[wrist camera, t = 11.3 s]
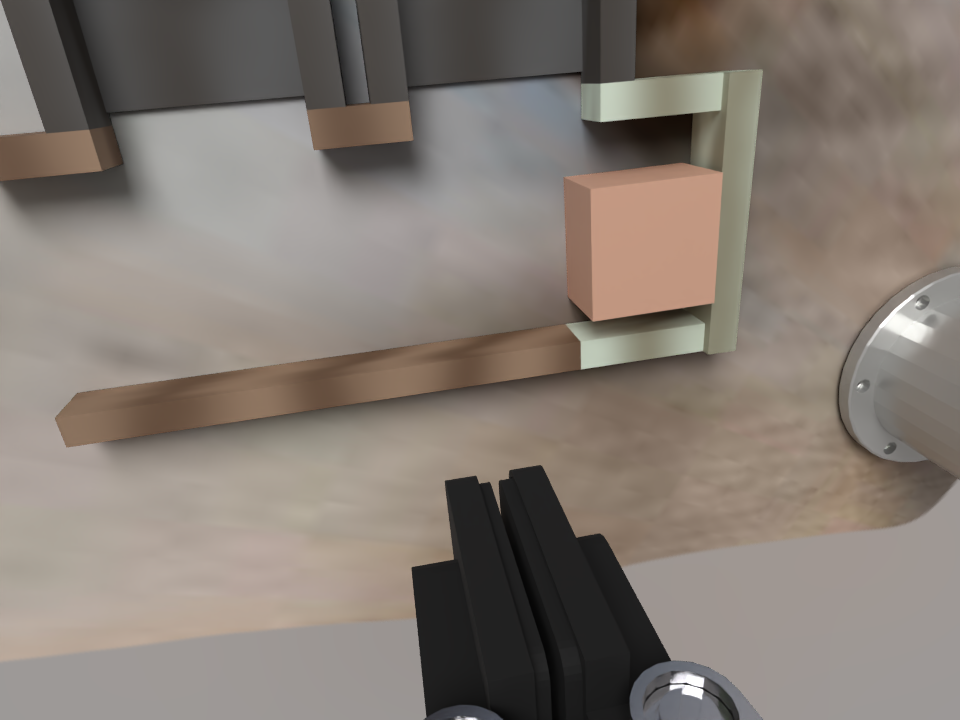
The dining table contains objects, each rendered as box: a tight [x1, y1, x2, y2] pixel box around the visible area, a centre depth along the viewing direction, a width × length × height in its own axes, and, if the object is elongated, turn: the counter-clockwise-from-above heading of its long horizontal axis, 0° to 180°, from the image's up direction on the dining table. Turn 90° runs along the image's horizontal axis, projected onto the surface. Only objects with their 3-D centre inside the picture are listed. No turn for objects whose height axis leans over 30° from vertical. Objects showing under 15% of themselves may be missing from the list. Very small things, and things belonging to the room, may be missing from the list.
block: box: [564, 163, 723, 322], centre depth 30 cm, size 6×6×4 cm
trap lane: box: [0, 0, 763, 447], centre depth 27 cm, size 32×22×3 cm
